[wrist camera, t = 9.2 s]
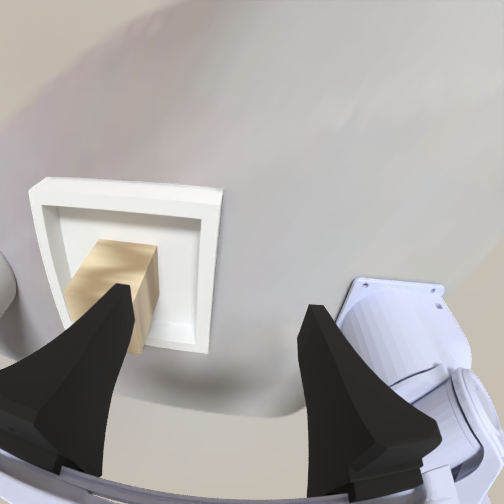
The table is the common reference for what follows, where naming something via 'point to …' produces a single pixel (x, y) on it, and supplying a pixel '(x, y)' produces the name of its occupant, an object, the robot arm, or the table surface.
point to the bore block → (118, 271)
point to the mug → (6, 285)
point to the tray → (136, 231)
